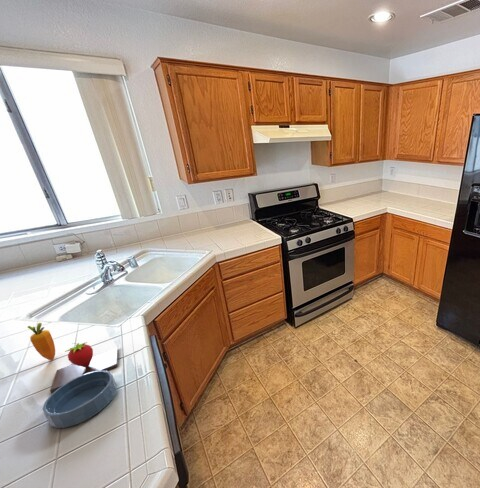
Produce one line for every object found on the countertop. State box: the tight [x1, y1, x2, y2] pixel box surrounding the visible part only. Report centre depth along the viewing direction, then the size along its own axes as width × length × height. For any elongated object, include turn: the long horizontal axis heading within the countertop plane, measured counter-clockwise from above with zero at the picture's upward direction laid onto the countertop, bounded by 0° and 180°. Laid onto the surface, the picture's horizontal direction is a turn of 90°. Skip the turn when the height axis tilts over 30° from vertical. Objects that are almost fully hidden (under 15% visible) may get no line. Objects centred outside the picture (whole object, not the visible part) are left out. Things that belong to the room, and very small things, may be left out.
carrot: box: [27, 322, 56, 361], centre depth 89 cm, size 5×5×15 cm
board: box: [49, 347, 119, 394], centre depth 86 cm, size 16×10×1 cm, turn 127°
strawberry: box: [64, 341, 94, 367], centre depth 84 cm, size 6×8×10 cm
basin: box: [42, 370, 118, 429], centre depth 73 cm, size 14×14×5 cm
